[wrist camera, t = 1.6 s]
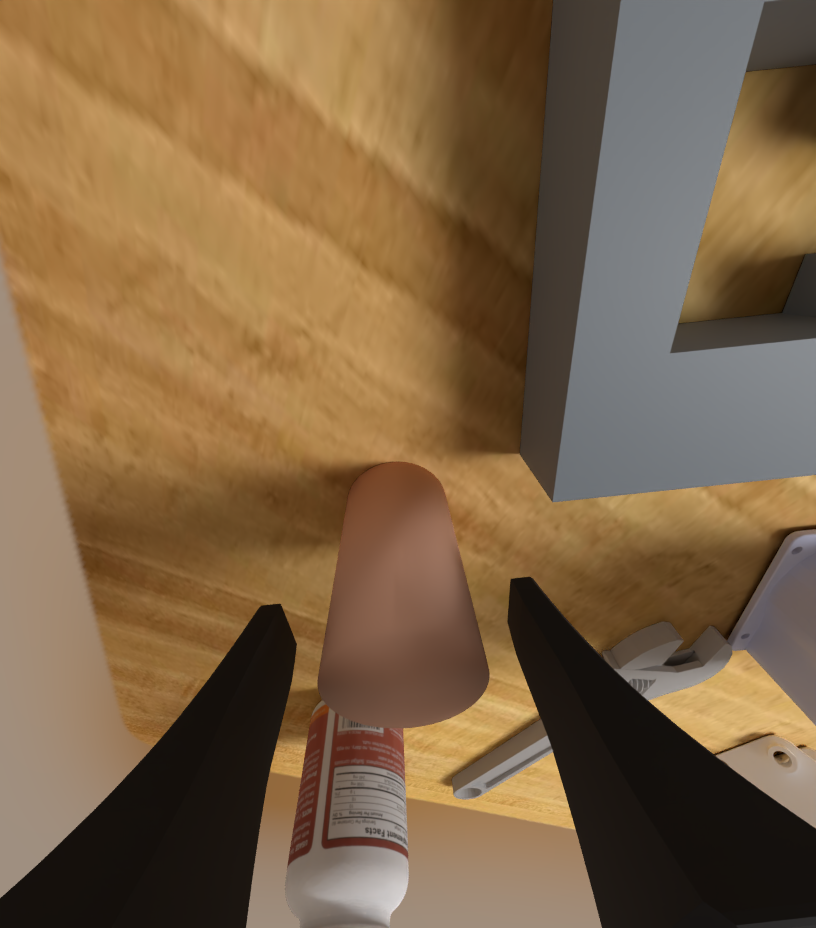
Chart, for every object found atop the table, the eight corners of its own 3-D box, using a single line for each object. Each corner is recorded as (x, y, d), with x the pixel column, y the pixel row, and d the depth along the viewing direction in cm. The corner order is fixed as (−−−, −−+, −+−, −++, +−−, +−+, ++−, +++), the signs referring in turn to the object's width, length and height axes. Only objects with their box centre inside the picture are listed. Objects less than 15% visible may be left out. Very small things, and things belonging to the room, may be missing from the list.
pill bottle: (343, 740, 27) (319, 1008, 17) (294, 702, 24) (232, 999, 14) (417, 716, 26) (436, 990, 16) (375, 674, 23) (366, 975, 13)
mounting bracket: (664, 763, 37) (767, 922, 30) (656, 780, 32) (774, 972, 25) (787, 715, 33) (936, 885, 26) (797, 727, 28) (980, 935, 22)
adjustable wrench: (468, 779, 33) (472, 805, 31) (412, 763, 31) (413, 790, 29) (724, 636, 23) (747, 662, 22) (670, 598, 21) (692, 625, 20)
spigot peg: (447, 537, 18) (487, 719, 11) (355, 546, 18) (335, 735, 11) (444, 456, 15) (491, 620, 8) (338, 467, 15) (298, 641, 8)
